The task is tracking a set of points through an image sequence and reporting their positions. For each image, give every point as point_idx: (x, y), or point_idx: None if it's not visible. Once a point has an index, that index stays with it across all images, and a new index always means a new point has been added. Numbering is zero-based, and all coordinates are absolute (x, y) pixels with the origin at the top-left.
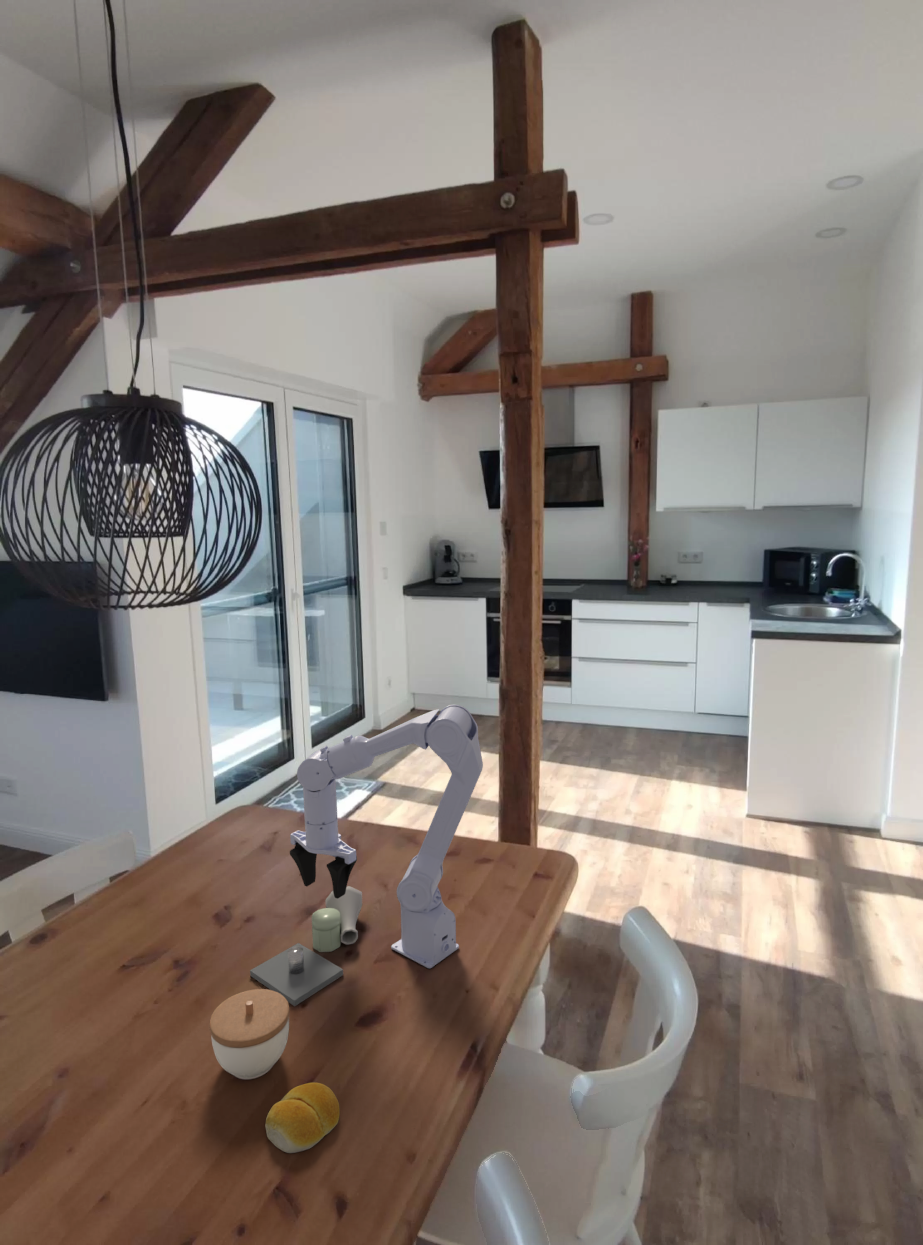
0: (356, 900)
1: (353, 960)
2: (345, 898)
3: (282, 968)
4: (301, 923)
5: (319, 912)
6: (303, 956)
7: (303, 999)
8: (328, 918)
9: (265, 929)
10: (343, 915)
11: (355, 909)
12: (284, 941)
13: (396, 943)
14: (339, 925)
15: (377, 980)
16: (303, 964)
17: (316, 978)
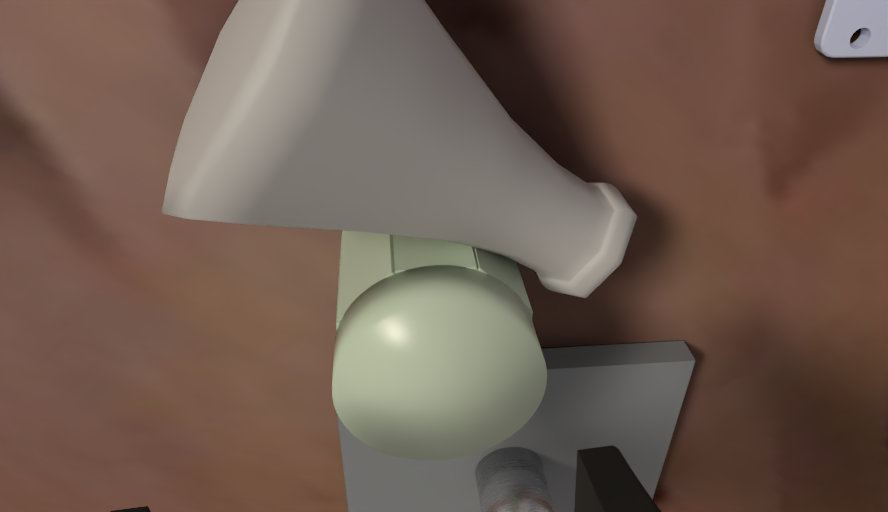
0: (421, 57)
1: (657, 251)
2: (367, 171)
3: (449, 493)
4: (104, 234)
5: (367, 396)
6: (546, 506)
7: None
8: (487, 397)
9: (33, 382)
10: (472, 237)
11: (481, 114)
12: (222, 373)
13: (847, 8)
14: (524, 301)
15: (860, 270)
16: (543, 478)
17: (628, 450)
